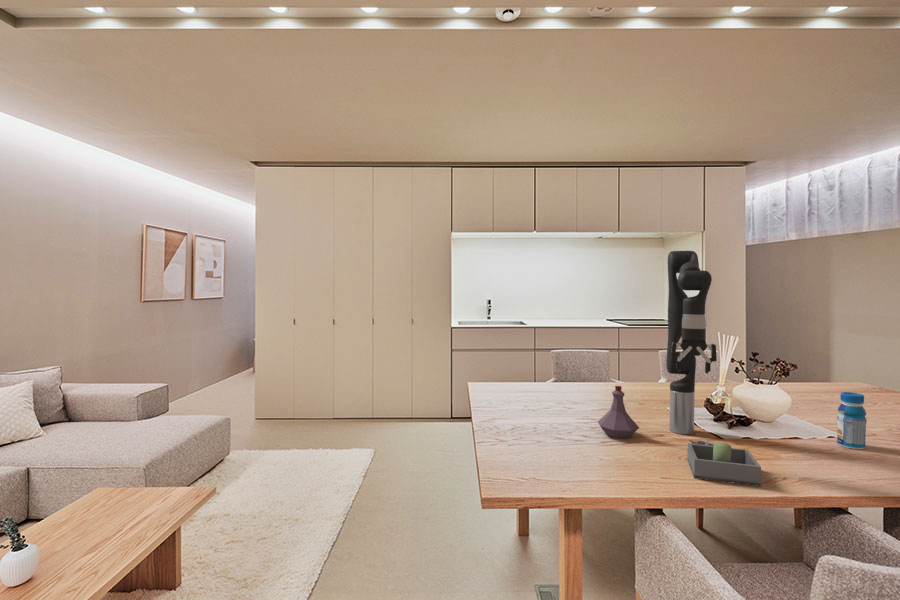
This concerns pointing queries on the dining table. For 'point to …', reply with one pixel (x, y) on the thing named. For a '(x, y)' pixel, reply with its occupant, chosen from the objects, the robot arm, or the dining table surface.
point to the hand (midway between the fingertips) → (693, 372)
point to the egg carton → (702, 442)
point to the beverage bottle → (851, 421)
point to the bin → (724, 465)
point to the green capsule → (721, 452)
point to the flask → (618, 418)
